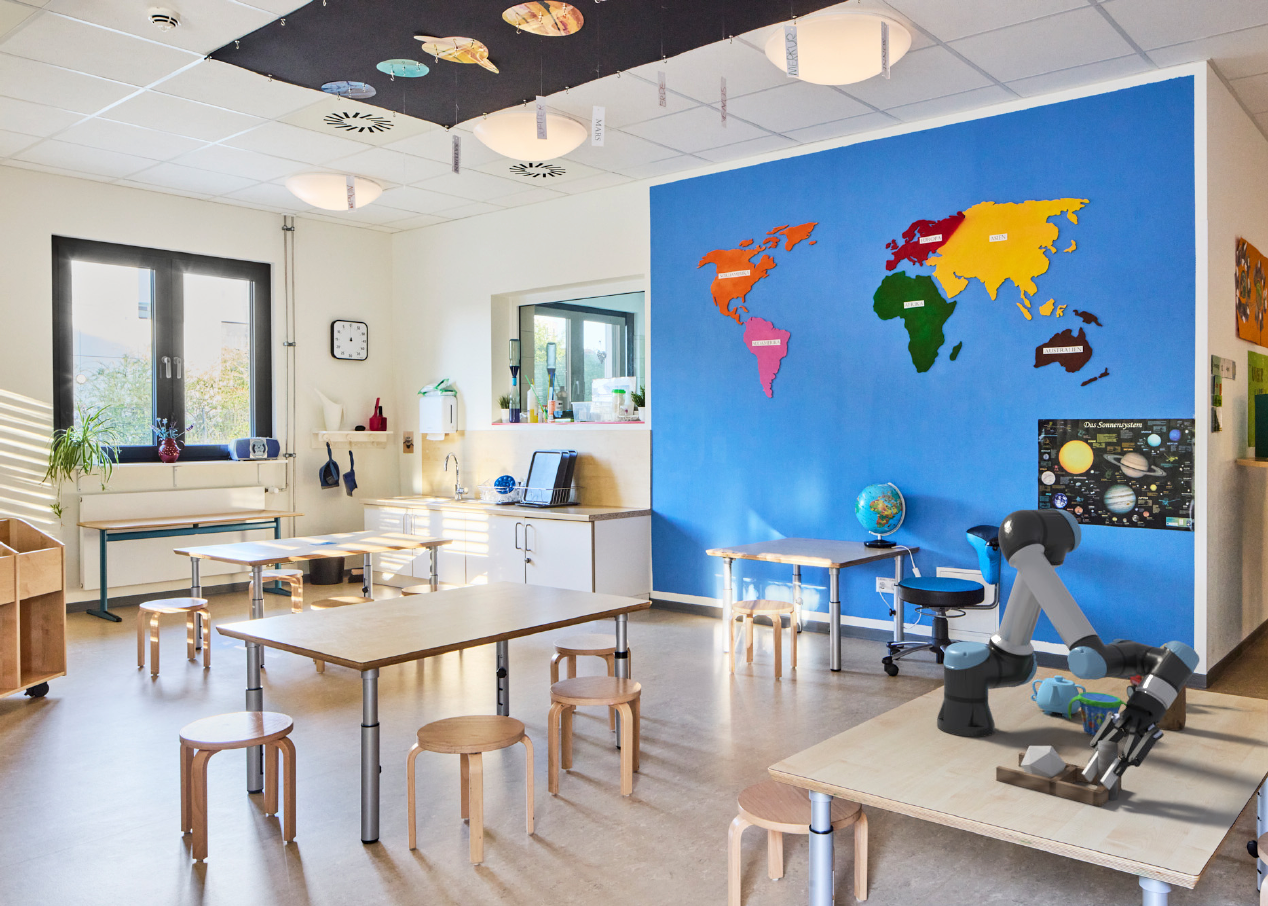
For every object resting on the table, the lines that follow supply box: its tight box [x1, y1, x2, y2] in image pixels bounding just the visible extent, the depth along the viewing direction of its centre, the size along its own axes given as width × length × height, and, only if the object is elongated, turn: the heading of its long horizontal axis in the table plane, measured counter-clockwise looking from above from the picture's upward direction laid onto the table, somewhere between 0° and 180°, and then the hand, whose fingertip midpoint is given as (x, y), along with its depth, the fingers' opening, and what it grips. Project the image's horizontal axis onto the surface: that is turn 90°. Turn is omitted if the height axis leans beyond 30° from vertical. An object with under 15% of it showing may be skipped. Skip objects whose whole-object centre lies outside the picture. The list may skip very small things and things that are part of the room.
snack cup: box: [1068, 691, 1127, 737], centre depth 255 cm, size 16×10×10 cm
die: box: [1020, 745, 1066, 779], centre depth 218 cm, size 8×9×10 cm
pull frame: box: [995, 740, 1123, 808], centre depth 215 cm, size 24×15×12 cm, turn 46°
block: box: [1142, 676, 1187, 731], centre depth 262 cm, size 11×8×20 cm
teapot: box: [1030, 675, 1087, 719], centre depth 274 cm, size 13×14×11 cm
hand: (1095, 781), depth 207 cm, fingers closed on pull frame, 4 cm apart
